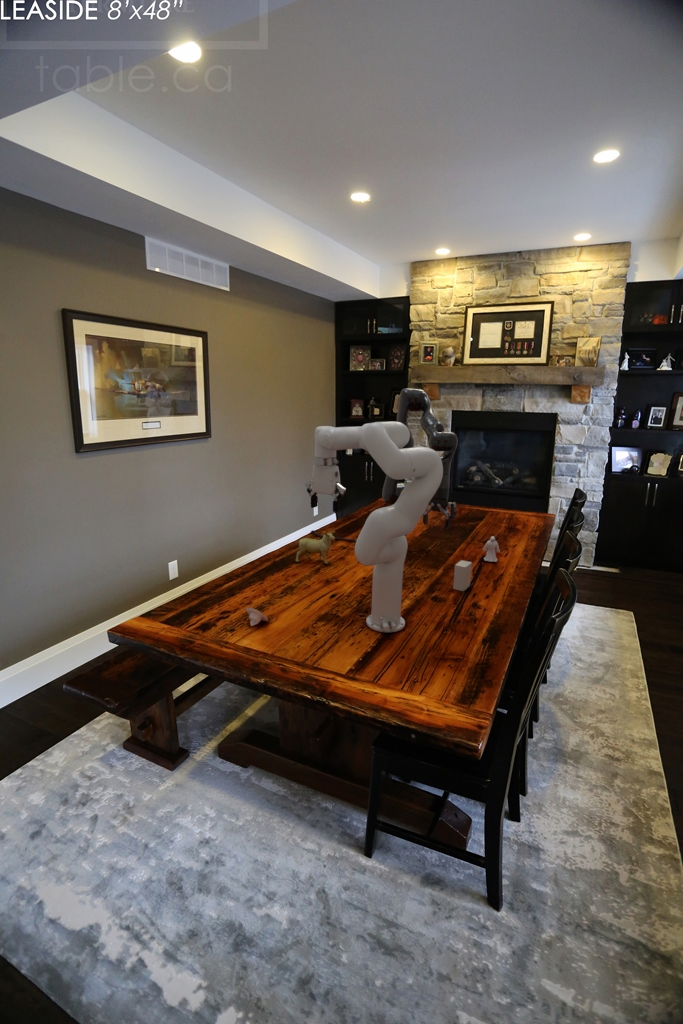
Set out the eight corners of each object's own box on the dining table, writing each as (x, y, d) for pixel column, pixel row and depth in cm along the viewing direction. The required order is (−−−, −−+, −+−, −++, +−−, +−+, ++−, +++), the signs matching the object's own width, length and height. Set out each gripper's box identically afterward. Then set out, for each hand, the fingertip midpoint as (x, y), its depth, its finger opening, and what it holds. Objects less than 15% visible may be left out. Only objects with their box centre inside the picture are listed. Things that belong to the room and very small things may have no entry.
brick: (470, 585, 196) (472, 562, 193) (463, 591, 190) (465, 567, 188) (459, 583, 198) (461, 560, 196) (452, 588, 192) (454, 564, 190)
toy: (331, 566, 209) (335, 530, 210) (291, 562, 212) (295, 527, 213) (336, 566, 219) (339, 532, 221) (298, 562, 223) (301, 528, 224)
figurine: (481, 562, 222) (483, 536, 219) (482, 556, 230) (484, 531, 227) (499, 564, 220) (501, 538, 217) (499, 558, 228) (501, 533, 225)
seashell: (251, 634, 162) (235, 615, 161) (262, 623, 165) (246, 604, 164) (262, 630, 156) (245, 610, 155) (273, 618, 159) (257, 599, 158)
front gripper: (351, 463, 174) (350, 510, 178) (312, 458, 183) (312, 503, 187) (339, 465, 168) (338, 515, 172) (299, 460, 177) (299, 507, 181)
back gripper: (460, 486, 188) (457, 527, 192) (426, 481, 195) (422, 520, 200) (453, 489, 182) (449, 532, 186) (417, 484, 189) (414, 525, 193)
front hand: (324, 509), depth 180 cm, fingers open, 9 cm apart
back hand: (435, 526), depth 193 cm, fingers open, 8 cm apart
